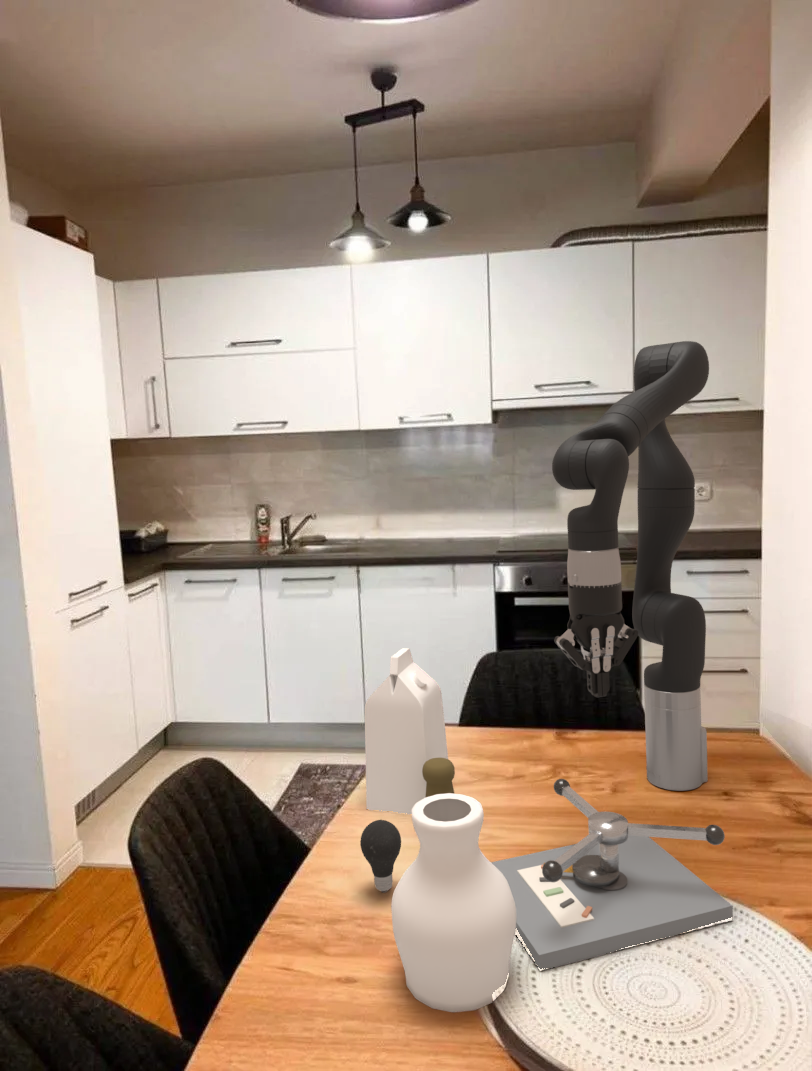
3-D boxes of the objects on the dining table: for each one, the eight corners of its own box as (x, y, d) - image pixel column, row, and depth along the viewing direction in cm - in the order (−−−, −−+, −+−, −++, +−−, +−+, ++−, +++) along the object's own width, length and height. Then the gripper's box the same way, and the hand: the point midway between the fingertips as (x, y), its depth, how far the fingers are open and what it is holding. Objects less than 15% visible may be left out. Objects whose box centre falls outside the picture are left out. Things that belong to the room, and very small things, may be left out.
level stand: (640, 842, 111) (640, 826, 111) (732, 920, 92) (732, 901, 92) (477, 878, 104) (476, 862, 104) (539, 971, 85) (538, 951, 85)
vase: (431, 922, 96) (422, 772, 93) (537, 953, 88) (530, 792, 86) (371, 994, 83) (358, 824, 81) (488, 1038, 76) (477, 852, 74)
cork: (458, 836, 116) (454, 769, 115) (420, 835, 118) (415, 768, 116) (463, 817, 122) (459, 753, 121) (426, 816, 123) (422, 752, 122)
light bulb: (363, 881, 106) (358, 814, 105) (402, 877, 106) (398, 810, 105) (364, 905, 100) (359, 834, 99) (406, 900, 100) (401, 830, 99)
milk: (391, 779, 138) (381, 642, 136) (450, 785, 134) (442, 644, 132) (366, 809, 127) (355, 661, 124) (430, 816, 123) (420, 663, 121)
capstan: (711, 835, 107) (710, 783, 106) (743, 948, 83) (742, 882, 82) (549, 824, 113) (547, 775, 112) (536, 927, 89) (533, 865, 88)
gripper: (621, 571, 113) (624, 682, 115) (540, 580, 109) (546, 694, 111) (649, 578, 106) (653, 696, 107) (564, 587, 102) (569, 710, 104)
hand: (598, 695), depth 109 cm, fingers closed
